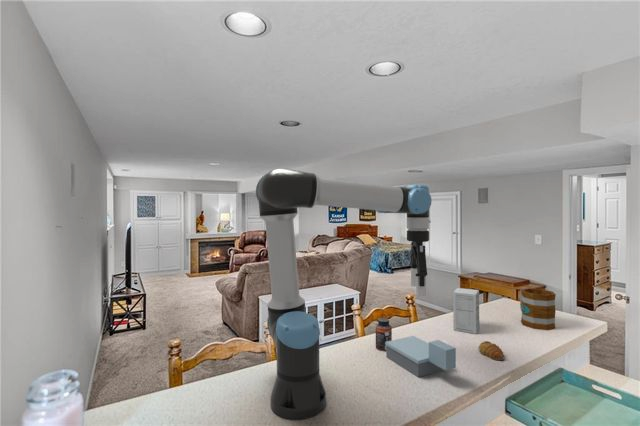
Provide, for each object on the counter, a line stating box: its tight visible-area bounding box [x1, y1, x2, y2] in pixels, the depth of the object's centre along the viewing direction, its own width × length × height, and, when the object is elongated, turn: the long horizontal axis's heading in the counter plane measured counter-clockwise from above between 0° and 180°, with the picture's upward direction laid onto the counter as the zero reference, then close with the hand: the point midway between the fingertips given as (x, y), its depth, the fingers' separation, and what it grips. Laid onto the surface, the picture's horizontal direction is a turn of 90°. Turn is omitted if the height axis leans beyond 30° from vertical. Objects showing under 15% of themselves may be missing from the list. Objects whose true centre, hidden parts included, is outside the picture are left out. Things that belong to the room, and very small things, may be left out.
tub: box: [385, 346, 445, 379], centre depth 116 cm, size 12×16×5 cm
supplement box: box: [452, 287, 480, 335], centre depth 149 cm, size 10×9×17 cm
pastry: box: [478, 340, 505, 361], centre depth 123 cm, size 9×7×4 cm
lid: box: [385, 335, 457, 372], centre depth 113 cm, size 13×24×6 cm, turn 26°
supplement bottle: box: [375, 317, 393, 352], centre depth 128 cm, size 6×6×11 cm
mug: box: [519, 287, 557, 331], centre depth 157 cm, size 20×14×15 cm
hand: (417, 290), depth 119 cm, fingers open, 13 cm apart
